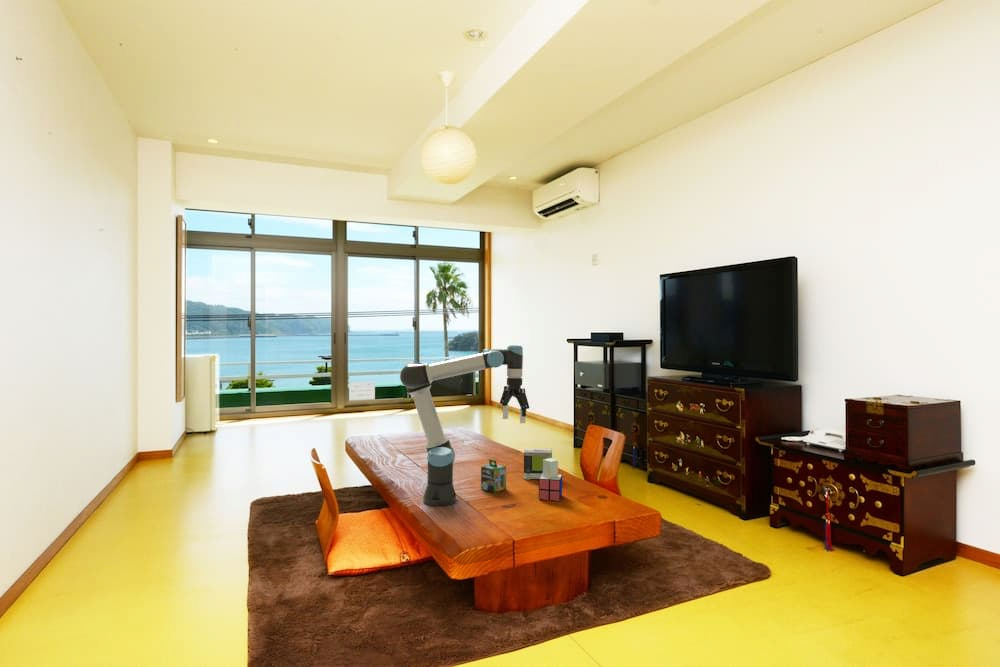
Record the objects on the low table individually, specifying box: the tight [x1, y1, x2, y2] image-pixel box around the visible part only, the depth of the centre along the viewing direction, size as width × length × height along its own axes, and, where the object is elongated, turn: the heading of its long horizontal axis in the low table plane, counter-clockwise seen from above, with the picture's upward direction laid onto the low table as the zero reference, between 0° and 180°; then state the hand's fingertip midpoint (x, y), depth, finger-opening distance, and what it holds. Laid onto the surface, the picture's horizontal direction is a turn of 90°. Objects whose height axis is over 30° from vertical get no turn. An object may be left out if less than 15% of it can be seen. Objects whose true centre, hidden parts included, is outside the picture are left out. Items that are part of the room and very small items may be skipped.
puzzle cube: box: [538, 473, 563, 501], centre depth 258 cm, size 10×10×10 cm
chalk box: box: [480, 458, 507, 494], centre depth 269 cm, size 9×9×15 cm
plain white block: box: [543, 457, 559, 479], centre depth 258 cm, size 5×5×8 cm
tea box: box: [523, 448, 553, 480], centre depth 292 cm, size 15×10×15 cm, turn 84°
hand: (513, 421), depth 265 cm, fingers open, 13 cm apart
